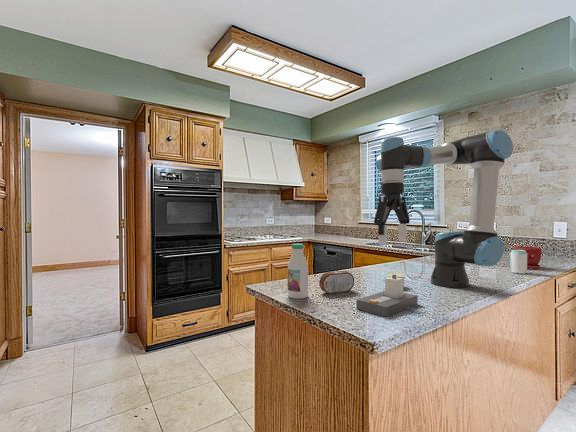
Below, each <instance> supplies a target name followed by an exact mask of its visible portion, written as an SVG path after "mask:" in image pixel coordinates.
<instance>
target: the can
mask: <svg viewBox="0 0 576 432" xmlns="http://www.w3.org/2000/svg"><path fill="white" fill-rule="evenodd" d="M527 254H528V253H526V251H525V250H511V251H510V253H509V255H510V256H509V265H510V266H509V269H510V270H509V272H511V273H512V274H515V273H519V274H518V275H526V274H527V273H528V269H527Z"/></svg>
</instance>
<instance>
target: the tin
mask: <svg viewBox="0 0 576 432" xmlns="http://www.w3.org/2000/svg"><path fill="white" fill-rule="evenodd" d="M318 284H319V288H320V290H321V291H322V292H324V293H326V294H330V295H333V294H340V293H341V294H342V293H347V292H349V291H351V290H352V289H353V287H354V284H355V277H354V275H353V273H350V272H349V271H347V270H337V271H335V270H334V271H333V270H332V271H327V272H325V273H323V274H322V275H321V277H320V279H319V283H318Z"/></svg>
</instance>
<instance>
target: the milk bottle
mask: <svg viewBox="0 0 576 432" xmlns="http://www.w3.org/2000/svg"><path fill="white" fill-rule="evenodd" d="M304 249H305V244H303V243H291V251H292V253H291V255H290V258H289V260H288V264H287V296H288V298H290V299H294V300H299V299H300V300H301V299H306V298H308V296H309V267H308V265H309V264H308V261H307V259H306V256H305V253H304Z"/></svg>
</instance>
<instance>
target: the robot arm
mask: <svg viewBox="0 0 576 432" xmlns="http://www.w3.org/2000/svg"><path fill="white" fill-rule="evenodd" d="M404 141H405V140H404V139H403V138H402V137H400V136H393V137H392V136H391V137H387V138H384V139H382V140H381V143H380V155H379V156H377V157H376V160H375V167H376V169H377V170H378V172H381V175H380V177H381V180H380V181H381V182H382V184H381V187H380V188H381V189H380V191H381V194H382V195H379V197H378V205H377V209H376V211H375V212H376V213H375V216H374V220H373V224H374V225H375V226H378V227H377V229H378V232H377V233H378V234H377V235H378V237H377V238H378V243H377V244H378V246H379V245H382V246H387V244H388V234H387V233H388V227H387V226H388V225H386V223H387V221H388V218H389V216H390V213H391V212H392V211H394V213H395V215H396V217H397V219H398V222H399V223H398V229H397V230H398V232H397V233H398V242H402V243H406V242H407V225H409V224H410V221H411V219H410V215H409V210H408V208H407V207H408V206H407V203H406V196H401V195H402V194H404V193H405V184H404V183H403V182H404V181H405V171H404V170H407V169H415V168H426V167H428V166H433V165H435V166H436V165H442V164H443V165H445V166H451V165H470V166H471V167H472V168H473V169H474V171H473V178H472V189H471V198H470V199H471V200H470V209H469V210H470V211H469V220H468V226H467V227H466V228H465V229H464V230H463V231H459V230H458V231H448V232H447V231H445V232H438V233H436V235H435V236H434V237H435V238H434V268H433V270H432V274H431V276H430V284H433V285H435V286H440V287H444V288H445V287H446V288H456V289H457V288H458V289H459V288H460V289H461V288H467V287H469V286H470V279H469V276H468V274H467V271H466V268H465V267H466V266H465V264H469V265H474V266H482V267H483V266H484V267H493V266H495V265H496V264H498V263H499V262H500V260H501V259H502V257H503V256H504V251H505V245H504V242H503V240H502V239H501V238H500V237H498V235H499V233H498V231H496V229H495V228H494V227H495V220H496V219H495V218H496V217H495V216H496V209H497V207H496V205H497V197H498V196H497V195H498V186H499V185H498V184H499V177H500V169H502V168H503V167H504V166H505V160H506V159H508V158H510V157H511V156H512V155H513V152H514V143H513V140H512V138H511V137H510V135H509V134H508V132H506V131H504V130H501V129H496V130H488V131H487V132H482V133H478V134H474V135H471V136H469V135H468V136H466V137H463V138H460V139H457V140H454V141H451V142H445V143H443V144H441V145H438V146H429V147H427V146H422V145H407V144H405V142H404Z"/></svg>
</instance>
